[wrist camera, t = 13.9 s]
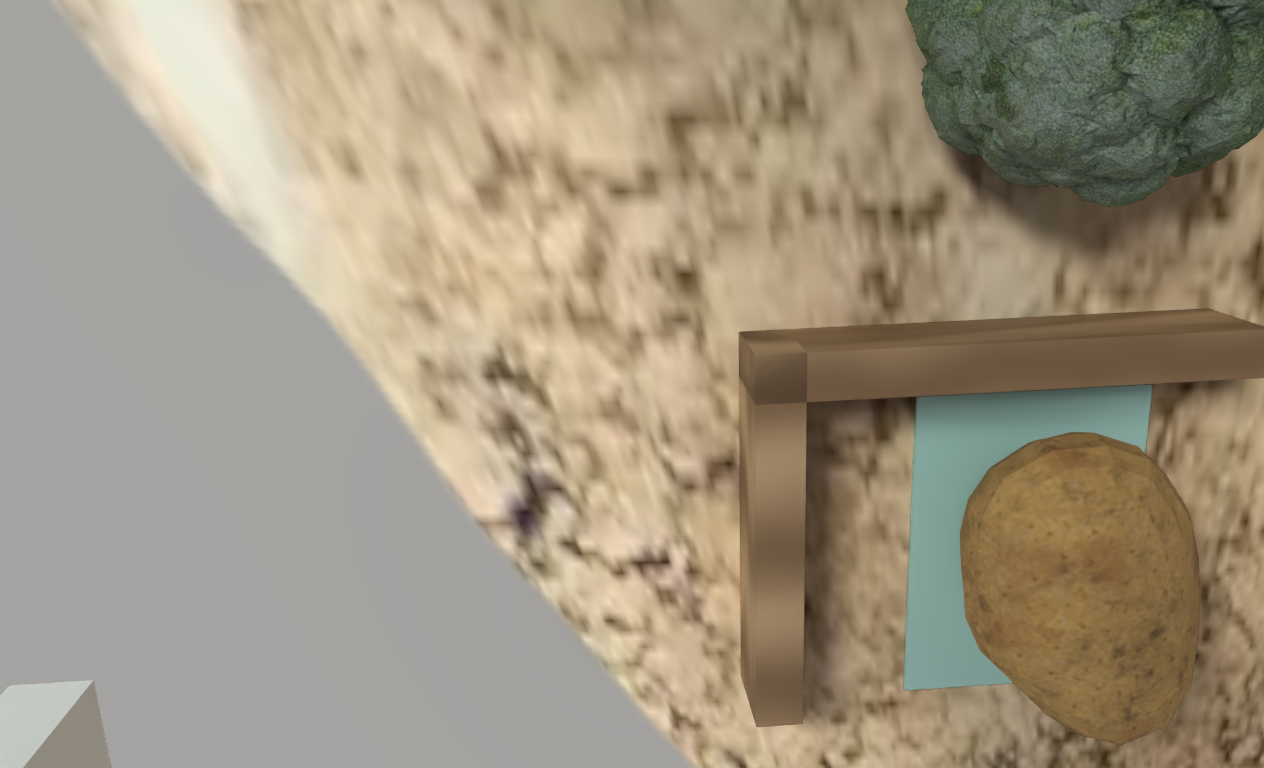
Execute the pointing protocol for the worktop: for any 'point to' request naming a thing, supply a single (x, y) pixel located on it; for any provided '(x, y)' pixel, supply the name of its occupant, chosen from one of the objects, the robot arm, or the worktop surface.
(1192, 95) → the vegetable
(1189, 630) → the potato
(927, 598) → the pad
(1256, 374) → the corner arena
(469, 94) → the worktop surface
